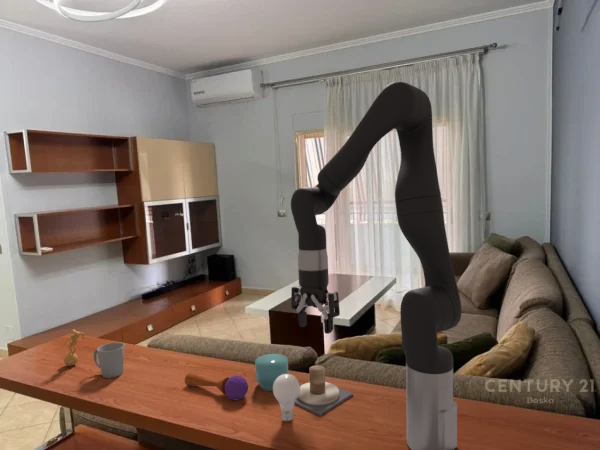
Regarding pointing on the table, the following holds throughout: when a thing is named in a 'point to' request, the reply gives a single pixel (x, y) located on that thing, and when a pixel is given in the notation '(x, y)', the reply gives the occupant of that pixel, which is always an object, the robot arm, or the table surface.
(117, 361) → the cup
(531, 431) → the table surface
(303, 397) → the lid
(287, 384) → the lightbulb
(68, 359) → the figurine
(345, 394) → the mat
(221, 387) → the kendama
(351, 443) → the table surface
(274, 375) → the teal rounded dome
